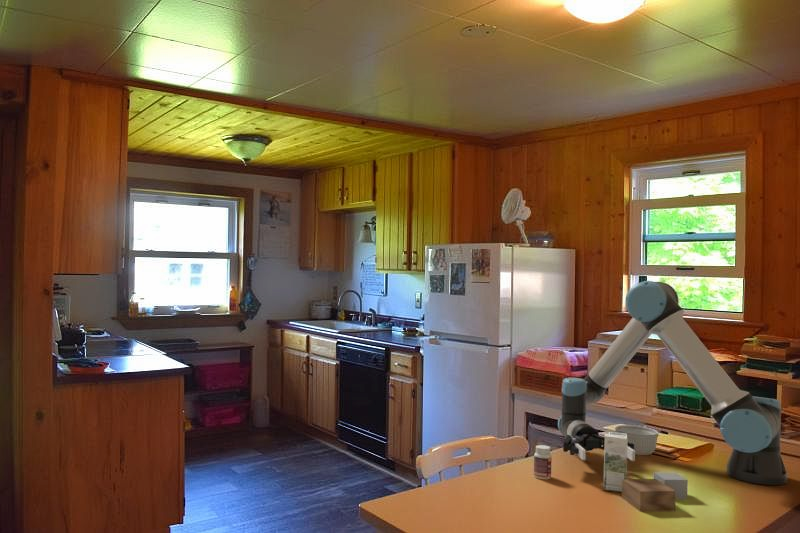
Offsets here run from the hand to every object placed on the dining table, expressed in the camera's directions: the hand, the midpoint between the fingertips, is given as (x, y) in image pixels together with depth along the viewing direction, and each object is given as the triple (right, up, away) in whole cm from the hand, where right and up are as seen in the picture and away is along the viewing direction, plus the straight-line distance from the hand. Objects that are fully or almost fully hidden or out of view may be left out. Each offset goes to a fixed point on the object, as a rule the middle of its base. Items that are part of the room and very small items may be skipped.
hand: (608, 455), depth 168 cm
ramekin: (+21, -10, +36) cm, 42 cm away
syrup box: (0, -8, -3) cm, 9 cm away
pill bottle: (-17, -8, +5) cm, 19 cm away
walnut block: (+5, -8, -14) cm, 17 cm away
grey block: (+14, -8, -7) cm, 17 cm away
